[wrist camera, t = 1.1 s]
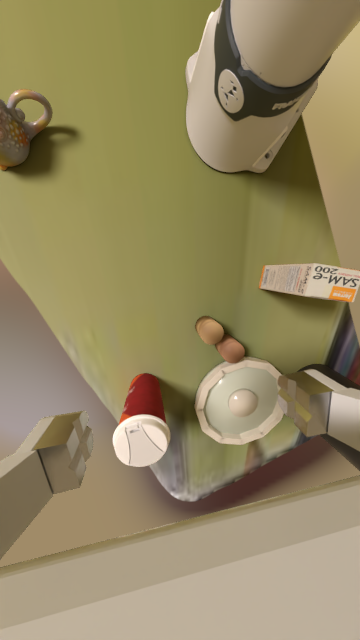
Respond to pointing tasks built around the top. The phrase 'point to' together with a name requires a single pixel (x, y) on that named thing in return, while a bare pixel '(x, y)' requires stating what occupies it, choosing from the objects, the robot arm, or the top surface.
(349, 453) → the vase
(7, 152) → the mug
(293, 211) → the top surface
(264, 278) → the supplement box
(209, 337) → the tan egg
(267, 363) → the tray
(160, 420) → the coffee cup
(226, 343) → the brown egg
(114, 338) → the top surface
